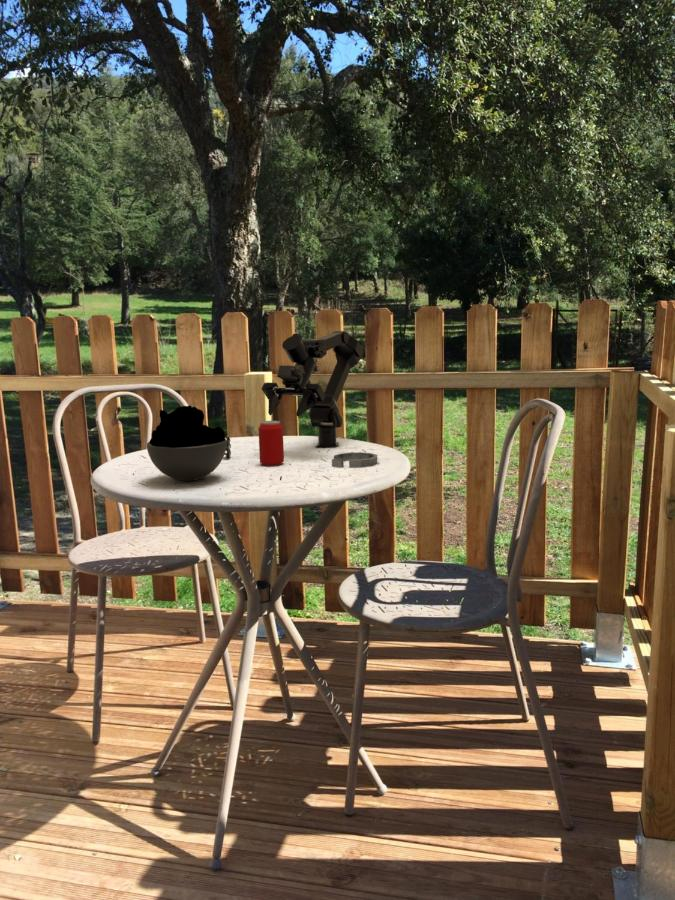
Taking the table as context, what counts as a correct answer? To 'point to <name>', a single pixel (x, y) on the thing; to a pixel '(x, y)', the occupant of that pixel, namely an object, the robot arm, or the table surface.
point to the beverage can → (271, 443)
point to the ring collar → (355, 459)
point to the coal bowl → (186, 445)
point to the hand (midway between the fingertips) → (283, 414)
